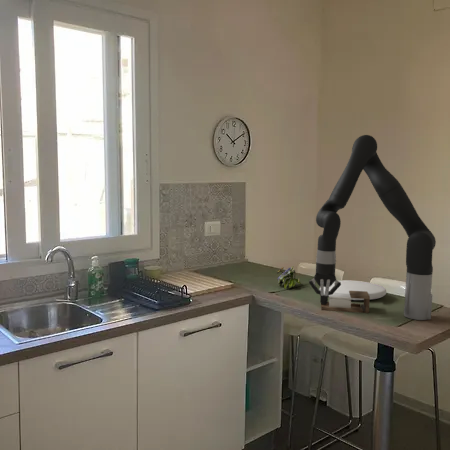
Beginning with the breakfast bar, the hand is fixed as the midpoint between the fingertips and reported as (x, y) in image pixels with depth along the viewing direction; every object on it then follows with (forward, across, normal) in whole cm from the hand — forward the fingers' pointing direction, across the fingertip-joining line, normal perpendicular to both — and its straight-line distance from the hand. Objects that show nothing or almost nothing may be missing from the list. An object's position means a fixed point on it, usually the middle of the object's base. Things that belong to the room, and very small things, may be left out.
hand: (323, 304), depth 206 cm
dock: (+2, -8, 0) cm, 8 cm away
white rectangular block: (+1, -6, 0) cm, 6 cm away
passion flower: (+2, +15, -35) cm, 38 cm away
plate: (+2, -13, -24) cm, 28 cm away
